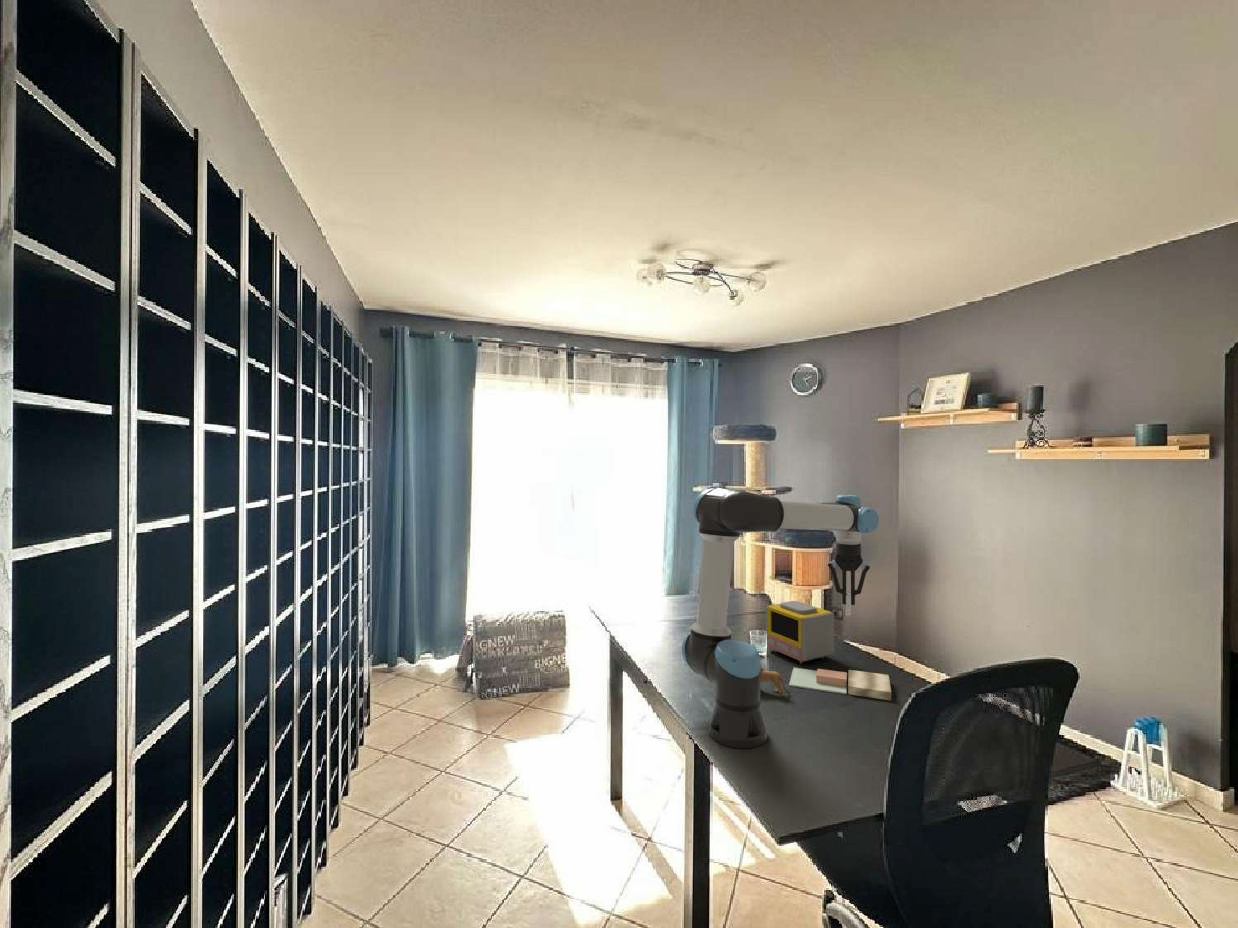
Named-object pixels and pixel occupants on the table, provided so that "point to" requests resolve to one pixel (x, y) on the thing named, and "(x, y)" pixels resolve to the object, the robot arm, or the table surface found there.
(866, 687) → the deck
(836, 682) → the block
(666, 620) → the table surface
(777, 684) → the lion figurine
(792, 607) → the alarm clock
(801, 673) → the mat
